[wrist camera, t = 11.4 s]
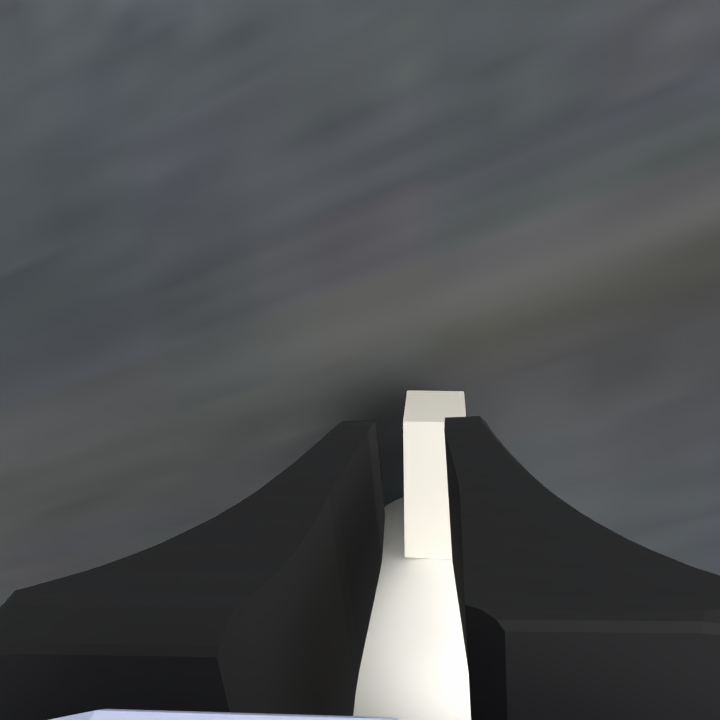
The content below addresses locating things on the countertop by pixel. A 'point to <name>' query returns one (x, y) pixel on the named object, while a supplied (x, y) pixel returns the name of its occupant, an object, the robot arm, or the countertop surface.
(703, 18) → the countertop surface
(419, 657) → the white piece
